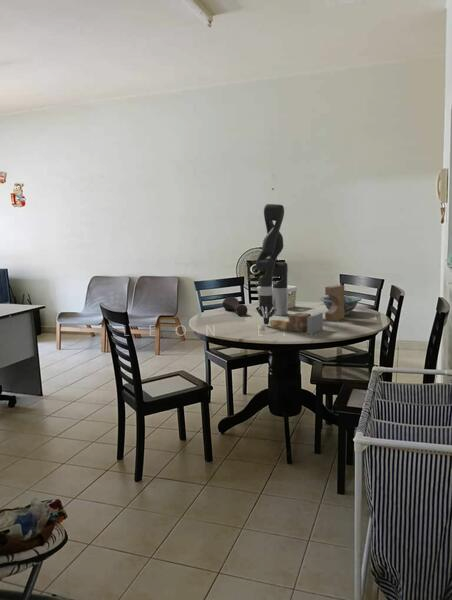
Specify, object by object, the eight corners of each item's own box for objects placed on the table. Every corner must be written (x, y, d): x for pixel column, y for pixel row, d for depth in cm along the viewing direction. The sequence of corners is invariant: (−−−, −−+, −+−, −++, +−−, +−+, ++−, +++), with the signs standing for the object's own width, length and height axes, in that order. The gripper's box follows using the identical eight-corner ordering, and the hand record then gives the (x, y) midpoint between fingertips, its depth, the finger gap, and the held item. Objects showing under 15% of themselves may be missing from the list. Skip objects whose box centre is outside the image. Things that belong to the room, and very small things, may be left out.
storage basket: (298, 306, 332) (298, 285, 330) (285, 310, 320) (285, 288, 317) (269, 304, 347) (269, 283, 345) (256, 307, 335) (255, 286, 333)
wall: (307, 334, 250) (307, 317, 248) (319, 328, 261) (319, 312, 259) (310, 334, 249) (310, 317, 247) (322, 329, 260) (322, 312, 258)
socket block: (289, 330, 258) (288, 315, 257) (297, 326, 266) (297, 312, 265) (302, 331, 254) (302, 317, 252) (310, 328, 262) (310, 313, 260)
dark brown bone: (226, 312, 332) (240, 324, 306) (219, 300, 328) (232, 311, 302) (239, 303, 334) (254, 315, 308) (232, 291, 330) (247, 302, 304)
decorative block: (331, 321, 279) (331, 287, 275) (324, 320, 283) (324, 286, 280) (344, 319, 285) (345, 285, 282) (337, 317, 289) (337, 284, 286)
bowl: (369, 312, 302) (369, 297, 300) (345, 318, 285) (345, 303, 284) (335, 308, 320) (335, 294, 319) (312, 314, 304) (312, 299, 302)
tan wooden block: (270, 327, 269) (270, 320, 268) (273, 326, 272) (273, 319, 271) (286, 329, 263) (286, 322, 262) (289, 328, 266) (289, 321, 266)
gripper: (252, 294, 271) (253, 324, 273) (272, 295, 263) (273, 326, 266) (259, 292, 277) (260, 322, 279) (279, 293, 269) (279, 324, 271)
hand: (266, 324), depth 272 cm, fingers closed
